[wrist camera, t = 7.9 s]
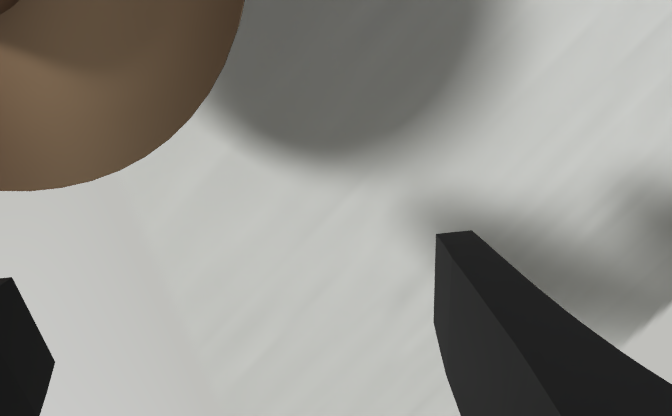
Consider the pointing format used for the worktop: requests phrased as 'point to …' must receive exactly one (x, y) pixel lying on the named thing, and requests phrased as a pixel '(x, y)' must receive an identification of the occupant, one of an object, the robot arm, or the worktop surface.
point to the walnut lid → (102, 82)
